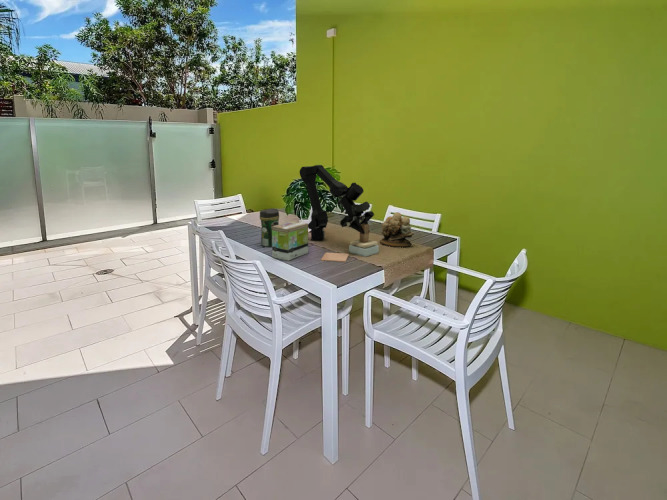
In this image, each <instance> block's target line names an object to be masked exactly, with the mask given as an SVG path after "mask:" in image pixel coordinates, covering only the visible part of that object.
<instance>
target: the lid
mask: <svg viewBox="0 0 667 500" xmlns="http://www.w3.org/2000/svg"><path fill="white" fill-rule="evenodd" d="M361 226H362V228H363V230H364V232H365V234H362V233H360V232H359V239H356V240H352V241H350V245H355V246H358V247H361V248H367V247H371V246H373V245H378V241H376V240H372V239H370V236H369V235H370V232H369V231H370V224H369V223H368V224H361Z"/></svg>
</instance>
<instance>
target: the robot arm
mask: <svg viewBox="0 0 667 500" xmlns="http://www.w3.org/2000/svg"><path fill="white" fill-rule="evenodd" d="M299 176H300V178H301V181H302V182H303V183H304V184H305V186H306V190H307V194H308V198H309V202H310V203H309V204H310V206H311V209H312V211H311V215H310V219H311V221H309V222H308V230H310V235H311V237H310V241H315V242H317V241H318V242H323V240H324V239H326V238H325V237H326V234H325V233H326V230H324V229H325V228H327V225H328V222H329V216H328V212H327V211H326V210H323V208H322V205H321V200H320V196H319V193H318V192H319V191H318V188H317V184H316V181H317V177H319V178H320V179H321V180H322V181H323V182H324V183H325V185H327V186H328V188H329V192H330V193H331V195H332V197H334V198H340V199H338V200H337V206H342V208H343V209H344V211H345V212H344V214H345V215H344V216H343V218H342V219H341V220H340V221H339V224H340V226H341V227H342V228H344V227H345V228H346V227H347V226H348V227H349V228H351V229H354V230H355V231H357V232H359V234H360V233H362V234H365V232H364V230H363V228H362V226H361V224H368V225H369V221H370V220H372V218H374V216H375V213H374V211H373V210H370V211H369V209H370V207H371V206H370V205H371V204H370V203H369V201H364V202H362V203H360V204H359V203H358V204H357V203H355V201H357V200H358V199H359V198H360V197H361V196H362V194H363V193H364V188H363V187H362V186H361V185H359V184H357V183H356V182H352V183H350V185H349V186H347V185H346V184H345V183H344V182H341V181H339V180H337V179H336V178H335V177H334V176H333V175H332V174H331V173H330V172H329V171H328V170H327V169H326V168H325V167H324V165H322V164H315V165H309V166H301V168H300V170H299ZM348 223H349V225H348ZM369 233H370V230H369Z"/></svg>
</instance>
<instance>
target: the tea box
mask: <svg viewBox="0 0 667 500" xmlns="http://www.w3.org/2000/svg"><path fill="white" fill-rule="evenodd" d="M308 224H309V222H308V223H306V222H301V221H294V220H291V221H287V222H284V223H279V225H276V226H272V249H271V250H272V254H271V255H272V258H275V259H279V260H282V261H283V260H284V261H288V262H289V261H291V260H294V259H295V258H298V257H300V256H304V255H306V254H308V253H309V228H308Z"/></svg>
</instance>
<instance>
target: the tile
mask: <svg viewBox="0 0 667 500" xmlns="http://www.w3.org/2000/svg"><path fill="white" fill-rule="evenodd" d="M349 255H350V253H342V252H341V253H339V252H337V253H336V252H325V253H324V254H323V256H322V258H321V259H320V261H322V262H337V263H338V262H339V263H346V262H347V260H348V258H349Z"/></svg>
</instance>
